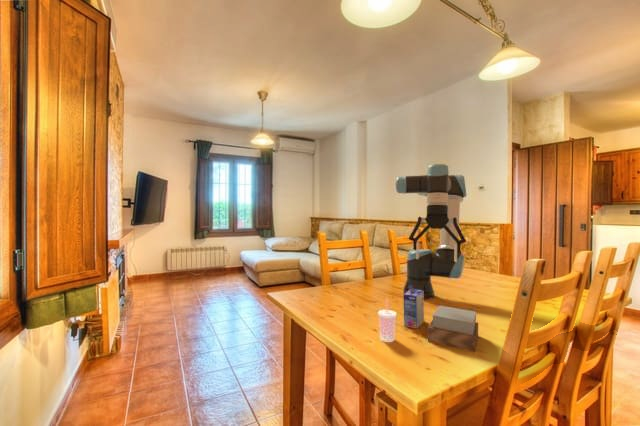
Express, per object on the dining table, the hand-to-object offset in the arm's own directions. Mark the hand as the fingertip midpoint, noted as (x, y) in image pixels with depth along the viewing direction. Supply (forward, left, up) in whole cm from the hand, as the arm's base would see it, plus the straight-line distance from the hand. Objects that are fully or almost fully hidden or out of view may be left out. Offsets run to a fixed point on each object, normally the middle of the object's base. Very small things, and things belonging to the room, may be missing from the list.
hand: (436, 260), depth 113 cm
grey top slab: (+8, -10, -20) cm, 24 cm away
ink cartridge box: (-7, -4, -25) cm, 26 cm away
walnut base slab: (+8, -10, -25) cm, 28 cm away
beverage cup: (-11, -23, -25) cm, 35 cm away
